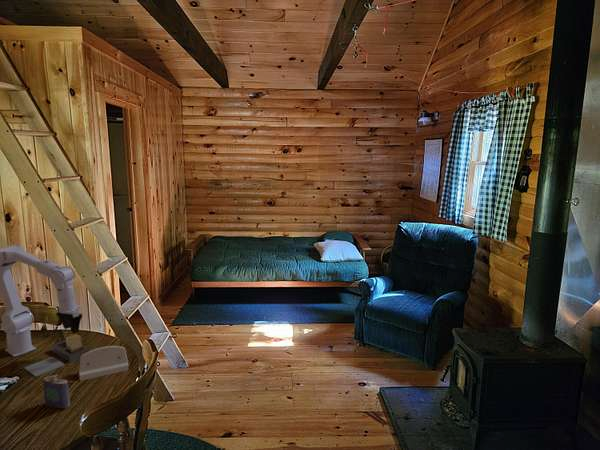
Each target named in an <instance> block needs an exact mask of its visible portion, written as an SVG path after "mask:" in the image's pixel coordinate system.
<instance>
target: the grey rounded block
mask: <svg viewBox="0 0 600 450" xmlns="http://www.w3.org/2000/svg"><path fill="white" fill-rule="evenodd" d="M126 371H129V360H128V356H127V352H126V348H125V347H124V346H121V345H120V346H119V345H105V346H101V347H100V346H99V347H96V348H94V349H90V351H88V352H86V353H84V354H83V355H81V357H80V359H79V369H78V377H79V381H80V382H81V381H84V380H89V379H95V378H98V377H103V376H108V375H113V374H116V373H120V372H121V373H122V372H126Z"/></svg>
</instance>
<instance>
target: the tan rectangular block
mask: <svg viewBox="0 0 600 450" xmlns="http://www.w3.org/2000/svg"><path fill="white" fill-rule="evenodd" d="M65 340H66V347H67V352H68V353H70V354H72V353H74V352H77V351H80V350H82V345H83V343H82V336H81V335H79V334H77V333H73V334H72V335H68V336H66V337H65Z"/></svg>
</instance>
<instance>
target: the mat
mask: <svg viewBox="0 0 600 450" xmlns="http://www.w3.org/2000/svg"><path fill="white" fill-rule="evenodd" d="M65 365H66V364H65V363H64V362H62V361H60V360H59V359H58V358H56V357H54V356H51V357H48V358H46V359H43V360H39V361H38V362H35V363H32V364H30V365H27V366H24V367H23V369H24V370H26V371H27V372H28V373H29V374H31V375H32V376H34V377H35V378H36V377H40V376H42V375H45V374H47V373H49V372H52V371H54V370H57V369H59V368H61V367H64V366H65Z"/></svg>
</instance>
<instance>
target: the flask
mask: <svg viewBox="0 0 600 450" xmlns="http://www.w3.org/2000/svg"><path fill="white" fill-rule="evenodd" d="M58 377H59V375H58V374H57V373H56V374H55V375H53V374H52V375H49V376H45V377H44V378H43V379H42V382H43V392H44V393H43V396H44V406H46V407H49V408H53V409H56V410H57V409H59V410H67V409H68V408H69V407H71V401H70V391H69V380H67V379H62V378H60V379H59V378H58Z"/></svg>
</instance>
